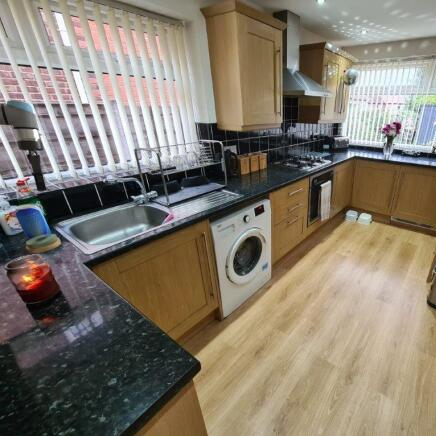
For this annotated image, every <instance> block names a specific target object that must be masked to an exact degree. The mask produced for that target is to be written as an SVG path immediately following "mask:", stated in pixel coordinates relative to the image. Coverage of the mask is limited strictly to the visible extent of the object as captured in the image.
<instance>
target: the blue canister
mask: <svg viewBox="0 0 436 436" xmlns="http://www.w3.org/2000/svg"><path fill="white" fill-rule="evenodd" d="M14 215H15V217H16V219H17V221H18V223H19V225H20V227H21V229H22V231H23V233H24V235H25V237H26V239H27V240H29V239H31V238H33V237H36V236H40V235H44V234H52V231H51V228H50V227H49V225H48V223H47V220H46V217H45V216H44V213H43V211H42V209H41V207H40V206H38V205H36V204H35V203H26V204H20V205H18V206H15V210H14Z"/></svg>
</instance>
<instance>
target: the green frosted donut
mask: <svg viewBox="0 0 436 436" xmlns="http://www.w3.org/2000/svg"><path fill="white" fill-rule="evenodd" d="M61 244H62V241H61V239H60V237H58V236H57V235H56V233H50V234H44V235H40V236H36V237H33V238H31V239H27V241H25V245H26V246H25V249H26V251H27V253H29V254H40V253H45V252H48V251H52V250H54V249H56V248H58V247H60V246H61Z"/></svg>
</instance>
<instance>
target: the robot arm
mask: <svg viewBox="0 0 436 436" xmlns="http://www.w3.org/2000/svg"><path fill="white" fill-rule="evenodd" d="M0 126H12V129H13V134H14V138H15V140H17V141H16V144H17V147H18V150H19V151H26V152H27V154H26V159H27V160H28V164H29V165H30V166H31V169H32V172H31V174H30V175H31V176H33V179H34V184H35V187H36V191H37V192H47V191H48V190H47V186H46V181H45V177H44V173H43V170H42V166H41V163H42V162H41V154H38V152H41V151H44V150H45V148H44V145H43V142H42V137H41V136H43V133H41V132H40V129H39V123H38V118H37V114H36V111H35V108H34V106H33V104H32V103H30V102H27V101H23V100H7V101H6V104H5V105H1V104H0Z"/></svg>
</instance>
